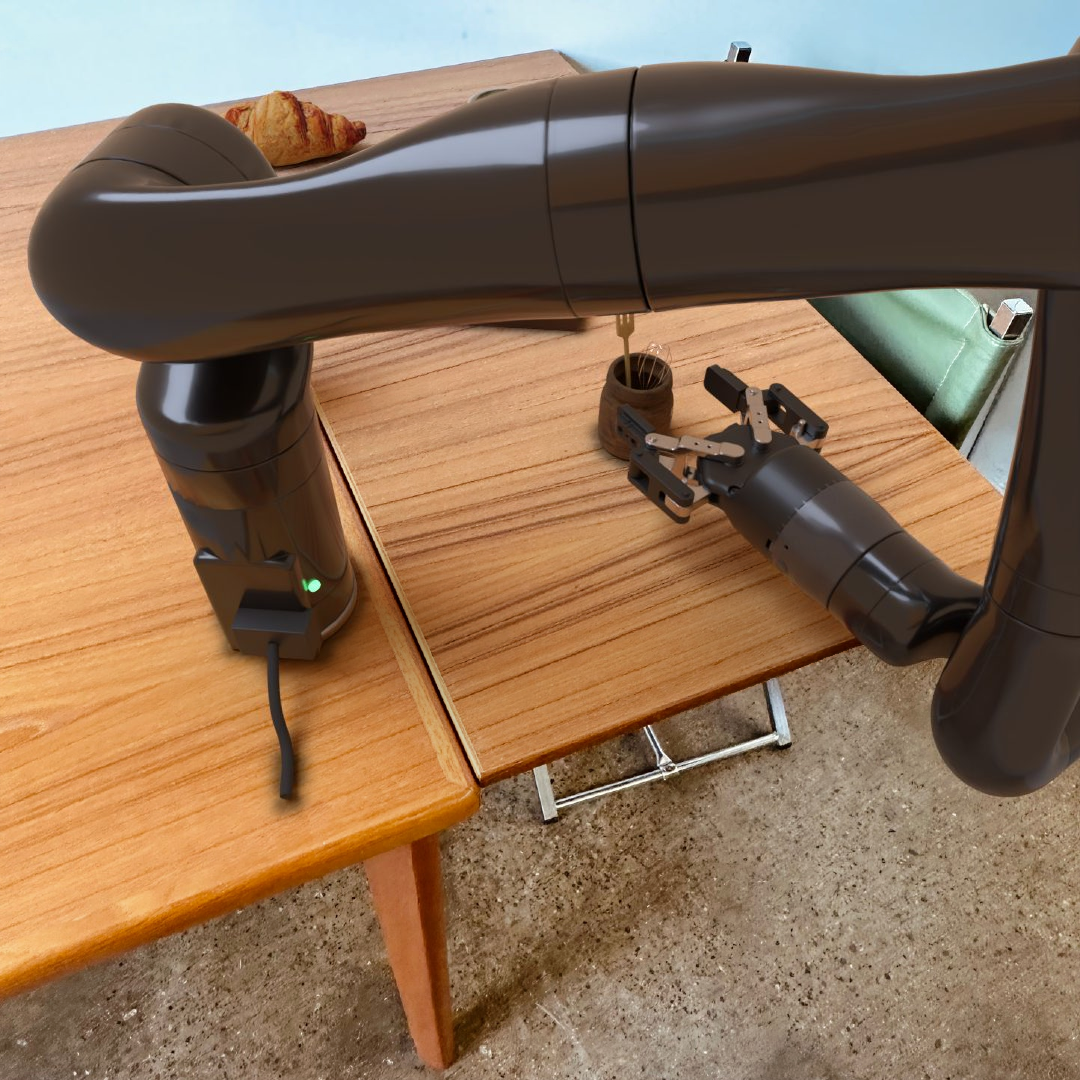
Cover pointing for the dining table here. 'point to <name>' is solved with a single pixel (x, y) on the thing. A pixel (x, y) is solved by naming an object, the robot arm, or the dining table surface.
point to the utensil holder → (635, 391)
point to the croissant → (293, 128)
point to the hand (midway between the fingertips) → (664, 393)
